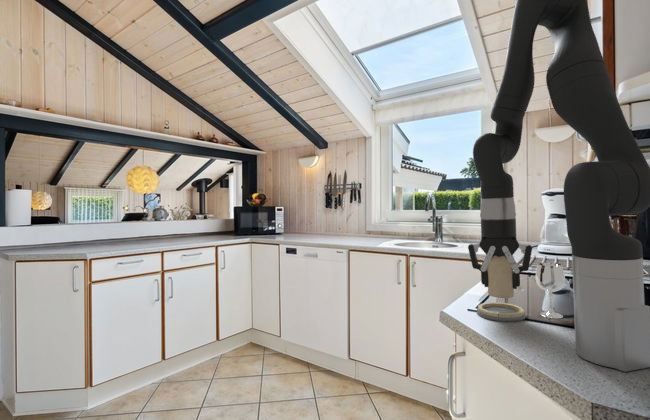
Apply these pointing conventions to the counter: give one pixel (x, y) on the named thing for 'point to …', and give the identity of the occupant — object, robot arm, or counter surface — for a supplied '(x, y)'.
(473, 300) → the counter surface
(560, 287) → the wineglass
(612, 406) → the counter surface
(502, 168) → the robot arm
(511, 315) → the beige ring
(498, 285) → the candle
